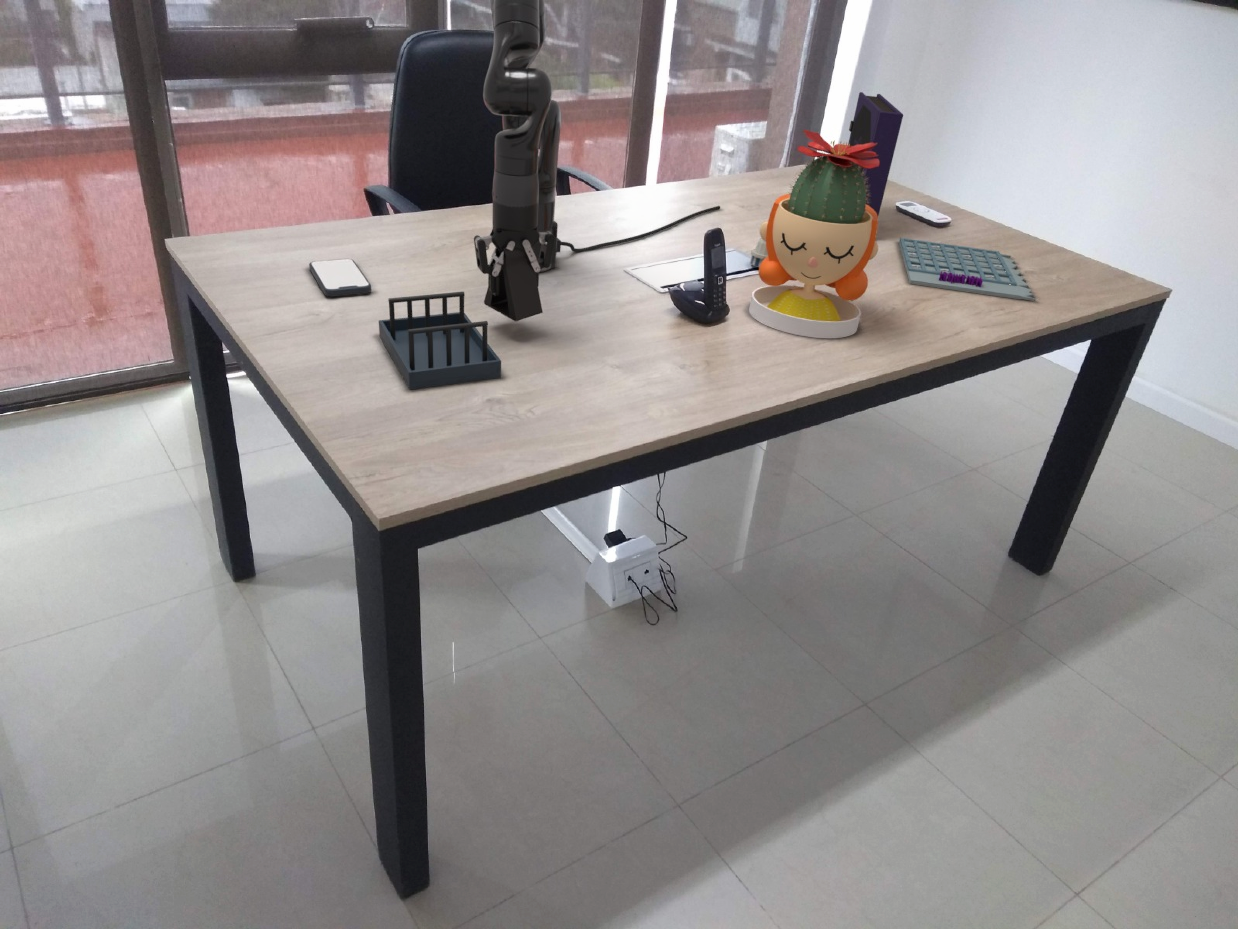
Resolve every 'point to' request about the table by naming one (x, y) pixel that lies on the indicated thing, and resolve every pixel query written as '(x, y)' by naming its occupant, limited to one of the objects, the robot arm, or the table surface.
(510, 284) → the phone stand
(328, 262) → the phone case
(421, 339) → the drying rack
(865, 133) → the book
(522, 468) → the table surface
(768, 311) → the potted cactus
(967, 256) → the calendar
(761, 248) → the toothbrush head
